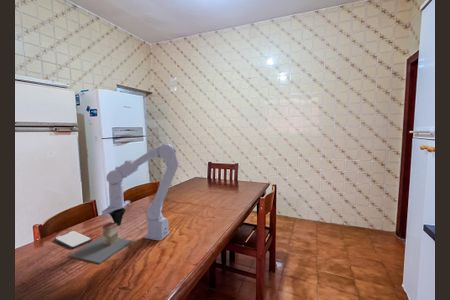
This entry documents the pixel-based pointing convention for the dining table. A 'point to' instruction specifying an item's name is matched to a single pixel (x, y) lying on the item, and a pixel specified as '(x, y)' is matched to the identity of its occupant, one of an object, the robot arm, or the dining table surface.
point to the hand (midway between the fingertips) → (117, 225)
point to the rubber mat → (99, 250)
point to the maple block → (110, 233)
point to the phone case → (73, 239)
